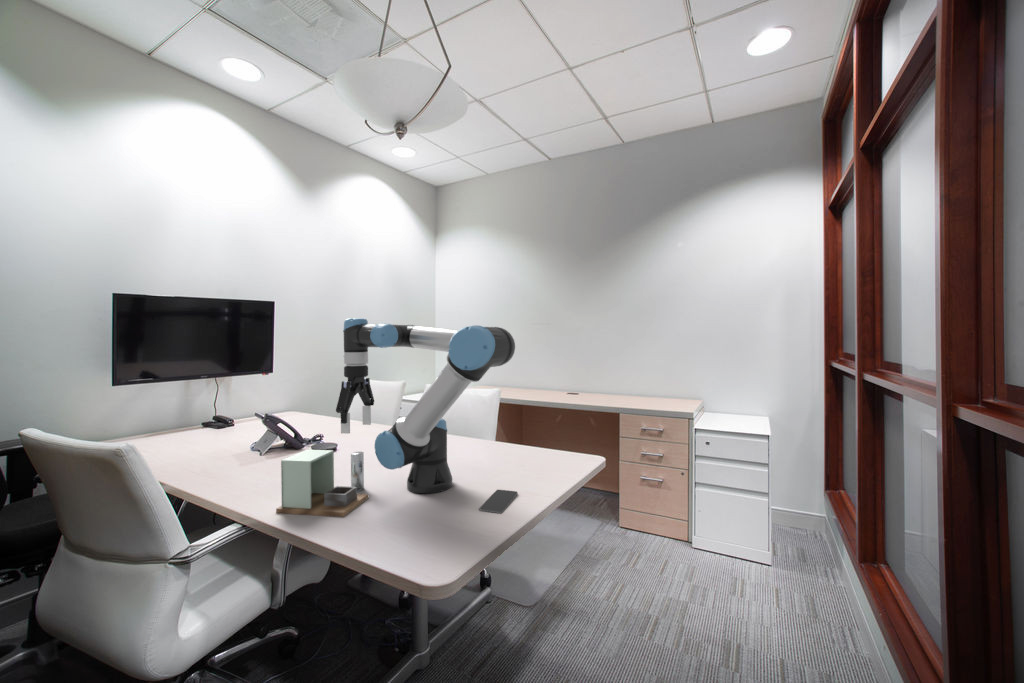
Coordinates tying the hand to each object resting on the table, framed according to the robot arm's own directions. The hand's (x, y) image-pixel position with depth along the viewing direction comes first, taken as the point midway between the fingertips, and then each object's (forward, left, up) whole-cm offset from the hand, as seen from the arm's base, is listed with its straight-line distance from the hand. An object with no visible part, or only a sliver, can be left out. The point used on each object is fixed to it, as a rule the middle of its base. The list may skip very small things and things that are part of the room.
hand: (356, 428), depth 139 cm
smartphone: (-49, +5, -21) cm, 53 cm away
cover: (+8, +14, -19) cm, 25 cm away
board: (+3, +14, -20) cm, 25 cm away
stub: (0, 0, -20) cm, 20 cm away
